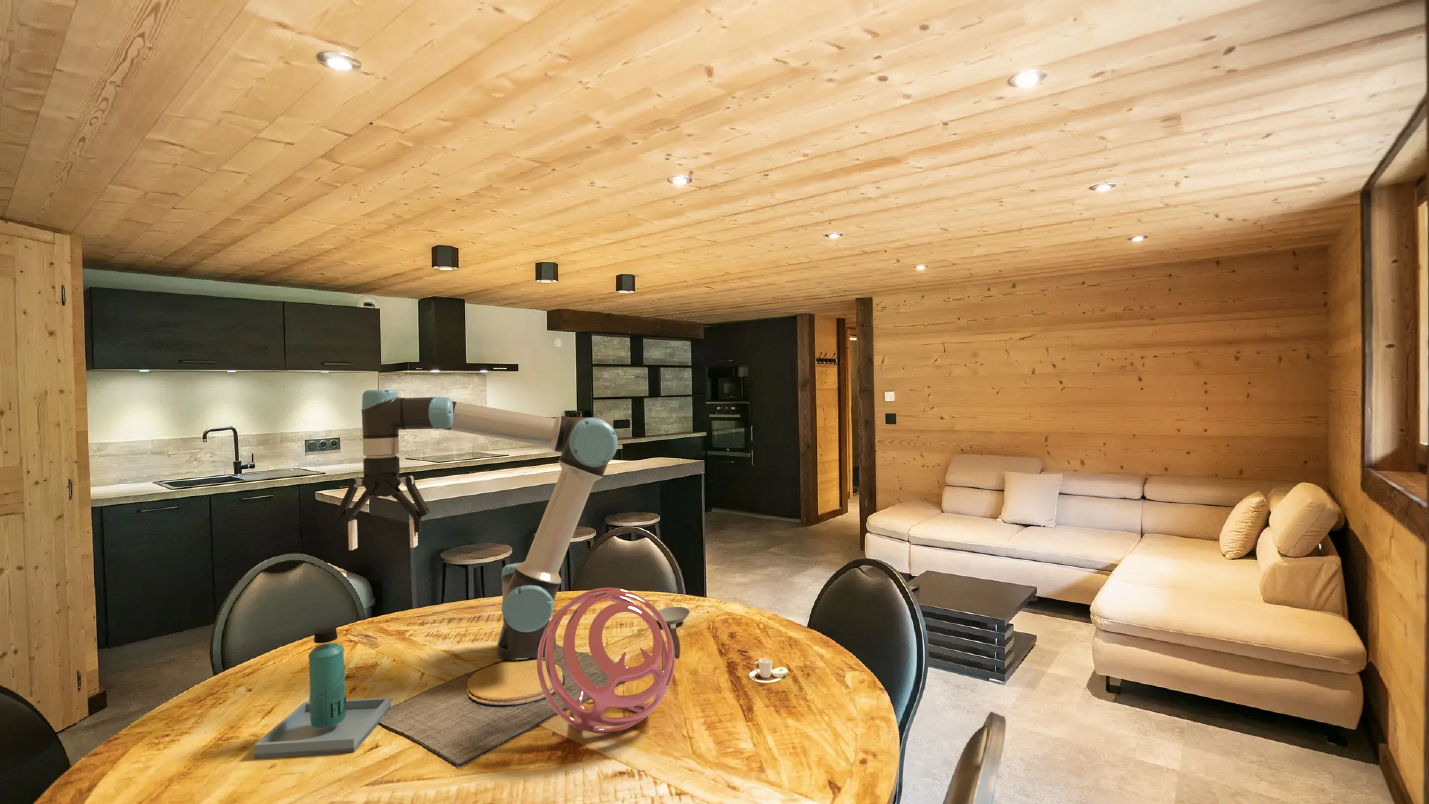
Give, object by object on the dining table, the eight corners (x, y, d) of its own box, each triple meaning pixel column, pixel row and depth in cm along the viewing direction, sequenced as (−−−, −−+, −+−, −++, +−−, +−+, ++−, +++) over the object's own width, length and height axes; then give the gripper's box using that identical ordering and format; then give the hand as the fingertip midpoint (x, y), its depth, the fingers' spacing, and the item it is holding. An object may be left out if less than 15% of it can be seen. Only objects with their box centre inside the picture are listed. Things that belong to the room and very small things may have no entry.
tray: (391, 708, 147) (390, 697, 147) (354, 752, 129) (353, 739, 129) (304, 713, 145) (303, 702, 145) (254, 758, 127) (254, 745, 127)
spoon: (689, 614, 205) (688, 604, 205) (699, 660, 173) (698, 649, 172) (653, 619, 204) (652, 609, 204) (657, 667, 171) (655, 656, 171)
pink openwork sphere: (529, 608, 152) (563, 559, 133) (645, 619, 163) (692, 576, 144) (515, 745, 135) (552, 712, 116) (646, 748, 146) (699, 718, 127)
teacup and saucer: (790, 674, 161) (790, 657, 161) (779, 687, 154) (778, 669, 154) (756, 668, 165) (756, 652, 165) (743, 681, 158) (743, 664, 158)
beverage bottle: (330, 737, 133) (327, 635, 133) (301, 734, 135) (298, 634, 134) (354, 721, 140) (351, 624, 139) (326, 718, 141) (324, 623, 141)
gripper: (442, 453, 162) (444, 542, 162) (332, 456, 160) (335, 546, 160) (431, 456, 154) (433, 549, 154) (316, 459, 152) (319, 553, 152)
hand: (383, 547), depth 157 cm, fingers open, 13 cm apart
